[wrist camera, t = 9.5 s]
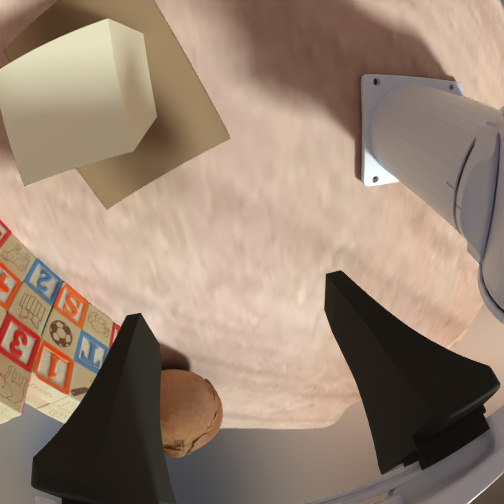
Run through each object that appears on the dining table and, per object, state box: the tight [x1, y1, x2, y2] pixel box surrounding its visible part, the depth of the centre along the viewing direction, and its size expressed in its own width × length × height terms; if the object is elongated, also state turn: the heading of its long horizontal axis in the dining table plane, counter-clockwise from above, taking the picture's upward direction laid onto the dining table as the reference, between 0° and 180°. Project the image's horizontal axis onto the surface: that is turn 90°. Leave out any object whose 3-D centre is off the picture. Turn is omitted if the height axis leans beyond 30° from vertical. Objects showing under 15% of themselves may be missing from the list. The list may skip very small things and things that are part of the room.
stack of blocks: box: [0, 220, 121, 424], centre depth 16 cm, size 21×6×12 cm, turn 31°
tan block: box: [4, 0, 230, 209], centre depth 13 cm, size 8×12×3 cm, turn 24°
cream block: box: [0, 18, 157, 186], centre depth 9 cm, size 4×4×6 cm
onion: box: [160, 368, 223, 457], centre depth 26 cm, size 10×9×10 cm
